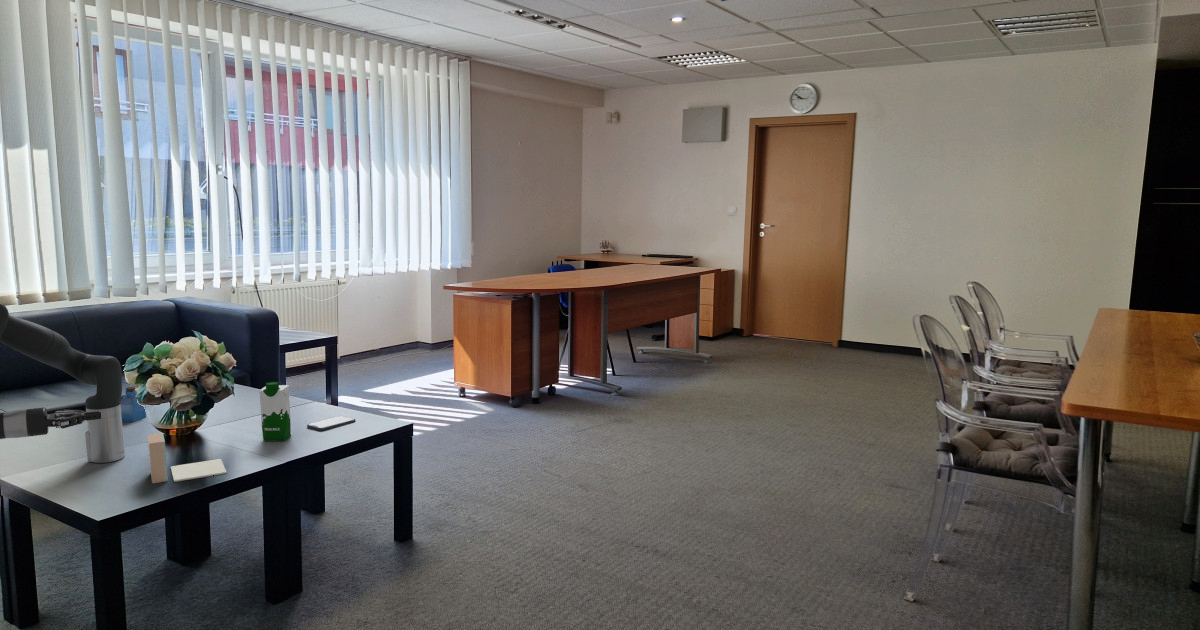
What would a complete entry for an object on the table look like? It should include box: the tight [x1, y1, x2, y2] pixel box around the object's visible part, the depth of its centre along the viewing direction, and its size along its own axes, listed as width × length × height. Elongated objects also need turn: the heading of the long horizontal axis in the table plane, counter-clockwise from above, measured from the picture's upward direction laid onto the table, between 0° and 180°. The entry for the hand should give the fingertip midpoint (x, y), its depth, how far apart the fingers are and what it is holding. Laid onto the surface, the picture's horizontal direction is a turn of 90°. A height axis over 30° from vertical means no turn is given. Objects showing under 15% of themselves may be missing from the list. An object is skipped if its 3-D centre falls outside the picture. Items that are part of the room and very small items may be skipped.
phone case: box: [306, 415, 356, 432], centre depth 287 cm, size 9×2×16 cm
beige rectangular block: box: [147, 432, 169, 484], centre depth 231 cm, size 4×10×12 cm, turn 32°
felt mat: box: [170, 458, 228, 483], centre depth 238 cm, size 14×14×1 cm
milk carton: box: [259, 381, 292, 442], centre depth 269 cm, size 9×9×20 cm
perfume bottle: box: [120, 386, 147, 423], centre depth 292 cm, size 6×6×12 cm
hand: (101, 414), depth 222 cm, fingers closed
